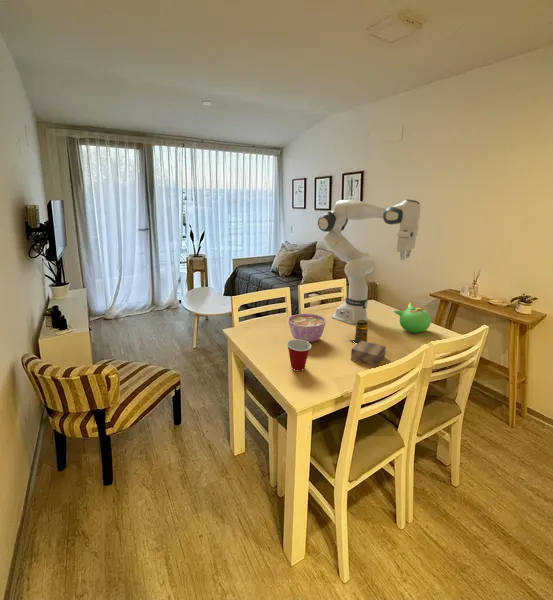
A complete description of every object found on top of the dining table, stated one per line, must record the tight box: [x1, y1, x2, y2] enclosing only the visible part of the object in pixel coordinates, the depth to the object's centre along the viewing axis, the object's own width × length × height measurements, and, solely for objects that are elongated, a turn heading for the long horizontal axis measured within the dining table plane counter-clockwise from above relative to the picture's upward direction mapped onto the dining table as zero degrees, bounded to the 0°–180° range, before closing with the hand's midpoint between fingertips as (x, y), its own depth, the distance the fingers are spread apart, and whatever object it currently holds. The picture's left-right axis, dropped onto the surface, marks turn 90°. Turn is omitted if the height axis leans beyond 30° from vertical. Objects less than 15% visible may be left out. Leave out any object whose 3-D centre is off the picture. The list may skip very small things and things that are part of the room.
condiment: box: [348, 320, 369, 347], centre depth 175 cm, size 7×8×12 cm
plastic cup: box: [286, 338, 312, 370], centre depth 148 cm, size 11×11×12 cm
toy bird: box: [393, 302, 432, 334], centre depth 190 cm, size 18×17×15 cm
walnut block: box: [350, 341, 386, 368], centre depth 158 cm, size 12×12×6 cm
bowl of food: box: [287, 313, 327, 343], centre depth 178 cm, size 20×20×12 cm
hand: (404, 258), depth 177 cm, fingers open, 8 cm apart
